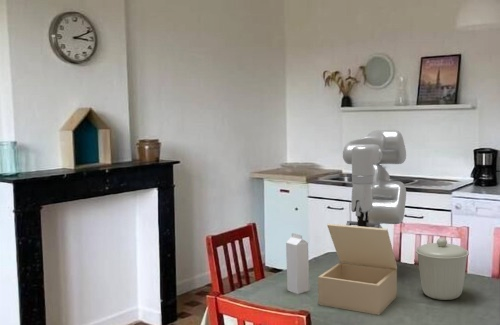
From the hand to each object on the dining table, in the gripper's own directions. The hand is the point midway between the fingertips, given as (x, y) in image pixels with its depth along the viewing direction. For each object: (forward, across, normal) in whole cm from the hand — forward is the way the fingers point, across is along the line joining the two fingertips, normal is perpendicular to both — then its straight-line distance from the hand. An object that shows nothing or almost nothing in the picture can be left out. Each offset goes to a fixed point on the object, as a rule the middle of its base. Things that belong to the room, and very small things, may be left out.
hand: (363, 230), depth 199 cm
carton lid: (+6, +1, 0) cm, 6 cm away
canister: (+24, -13, +25) cm, 37 cm away
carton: (+24, +6, 0) cm, 25 cm away
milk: (+25, +6, -24) cm, 35 cm away
